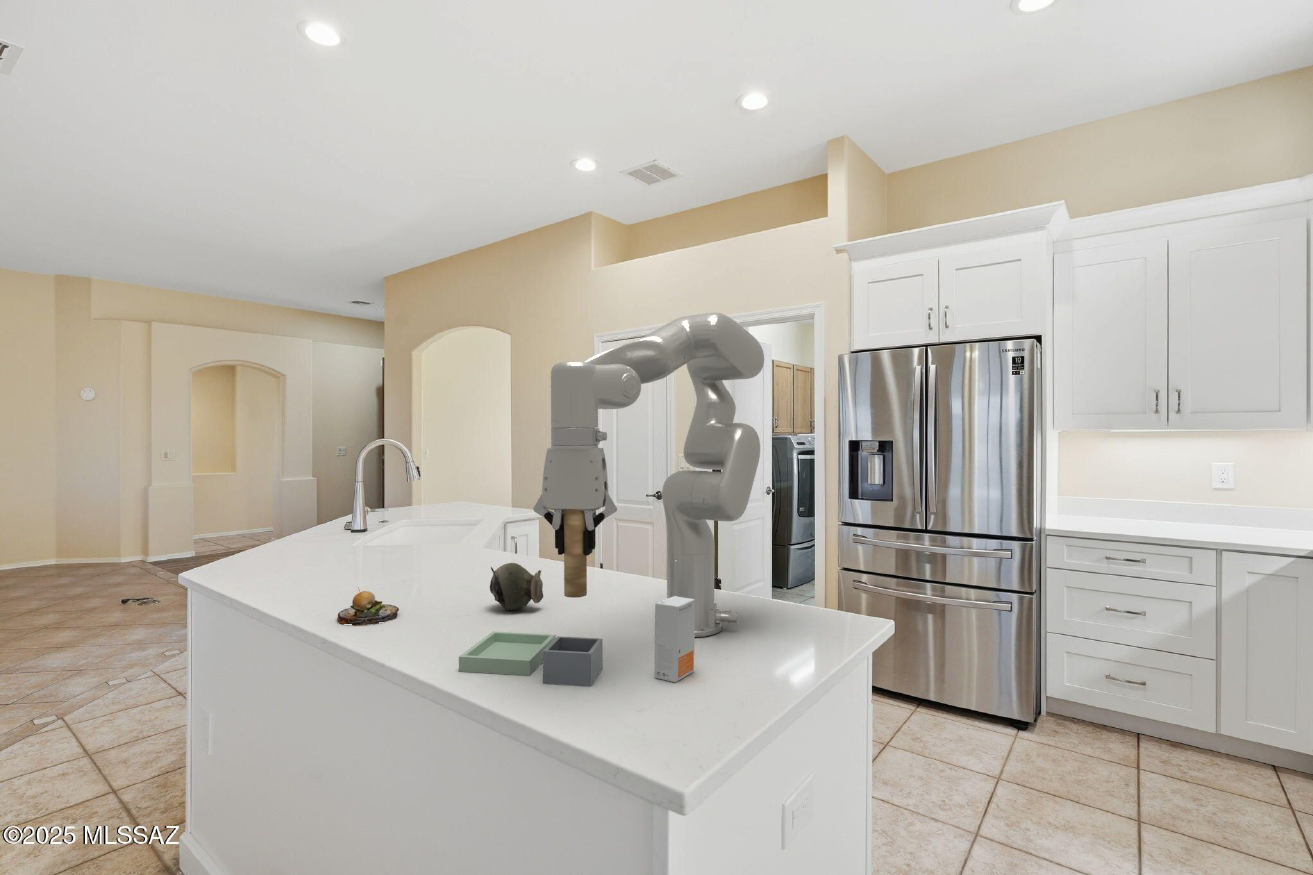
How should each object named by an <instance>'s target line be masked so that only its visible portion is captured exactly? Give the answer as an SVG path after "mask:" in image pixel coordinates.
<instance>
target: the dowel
mask: <svg viewBox="0 0 1313 875" xmlns="http://www.w3.org/2000/svg"><path fill="white" fill-rule="evenodd" d="M585 530H586V520H585V513H584V511H578V510H564V554H563V566H564V567H563V580H564V581H563V584H564V585H563V586H564V587H563V588H564V589H563V590H564V591H563V593H564V595H563V596H564V597H566V598H573V599H574V598H583V597H586V596H587V594H588V593H587V592H588V583H587V582H588V578H587V577H588V575H587V574H588V570H587V569H588V568H587V567H588V565H587V564H588V562H587V557H588V556H586V555H584V554H583V532H584V531H585Z"/></svg>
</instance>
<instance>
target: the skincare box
mask: <svg viewBox="0 0 1313 875" xmlns="http://www.w3.org/2000/svg"><path fill="white" fill-rule="evenodd" d="M654 610H655V611H654V612H655V613H654V661H653V662H654V663H653V664H654V670H653V671H654V673H653V674H654V675H653V676H654V678H655V679H659V680H664V681H667V682H672V683H678V682H679V681H680V680H682V679H684V678H685V677H687V676H689V675H690V674H692V673H694V672H695V637H694V636H695V599H690V598H683V597H678V596H673V597H671V598H667V597H666V598H665V599H663V600H661V601H658V602H655V607H654Z"/></svg>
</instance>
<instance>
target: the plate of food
mask: <svg viewBox="0 0 1313 875" xmlns="http://www.w3.org/2000/svg"><path fill="white" fill-rule="evenodd" d="M357 588H358V590H359V592H358V593H356V594H355V595H354V596H353V598H352V602H351V603H352V604H351V605H350V606H349V607H348V608H344V609H342V610H340V611H339V612H338V613H337V623H338V622H339V623H338V624H342V625H343V624H352V625H353V626H354V627H357V626H358V627H360V626H368V625H367V624H373V625H379V622H384V623H386V622H389V621H393V620H395V619H397V617H398V612H399V611H400V608H399V607H398V606H396V605H392V604H383V600H380V601H379V600H377V599H376V596H375V594H374V593H373V592H371V591H369V590H368V591H367V590H364V591H360V588H359V587H358V586H357ZM353 626H352V627H353Z"/></svg>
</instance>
